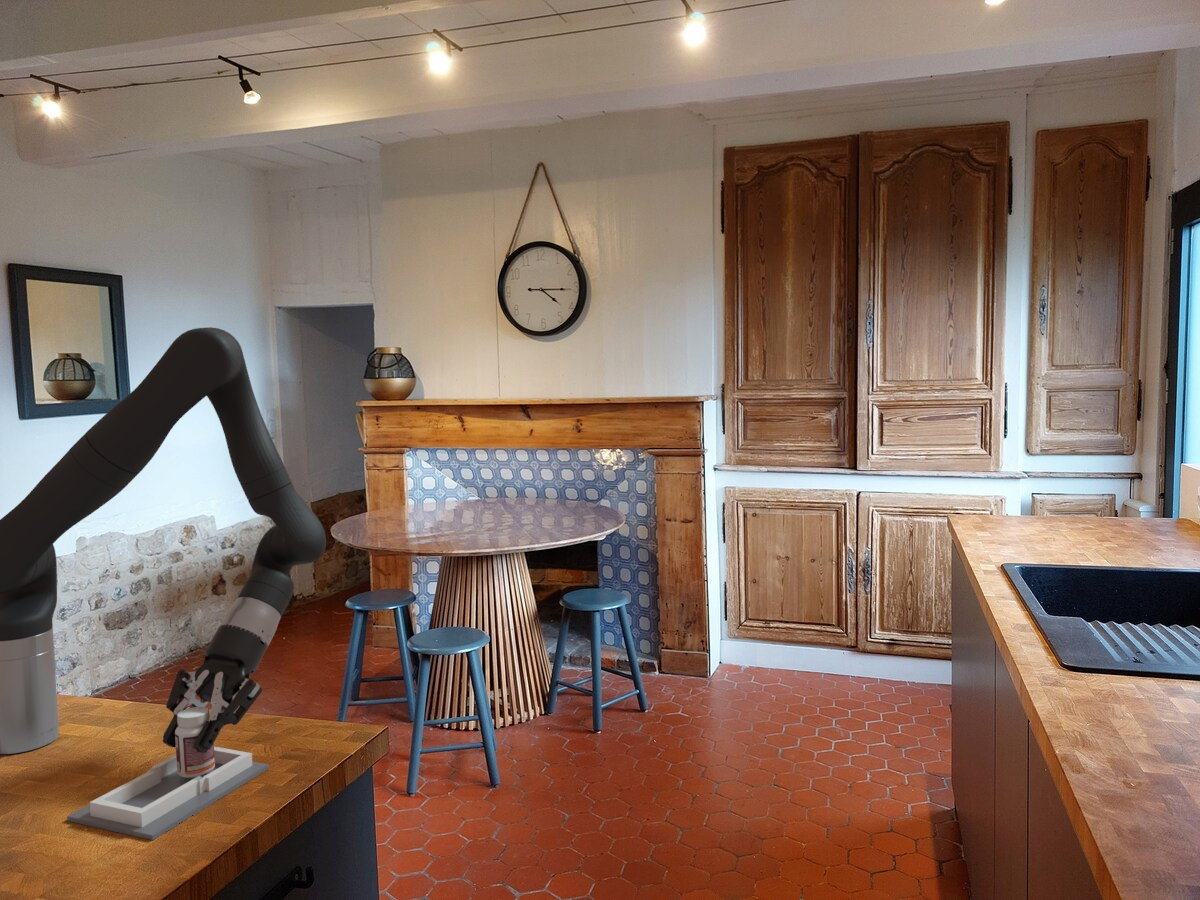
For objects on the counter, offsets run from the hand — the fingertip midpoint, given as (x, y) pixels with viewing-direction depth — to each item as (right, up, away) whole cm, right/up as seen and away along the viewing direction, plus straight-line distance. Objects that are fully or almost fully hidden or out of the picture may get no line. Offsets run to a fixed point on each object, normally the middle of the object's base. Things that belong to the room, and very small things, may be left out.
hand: (184, 747), depth 116 cm
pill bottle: (+1, -4, +2) cm, 5 cm away
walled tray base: (-1, -6, -2) cm, 6 cm away
